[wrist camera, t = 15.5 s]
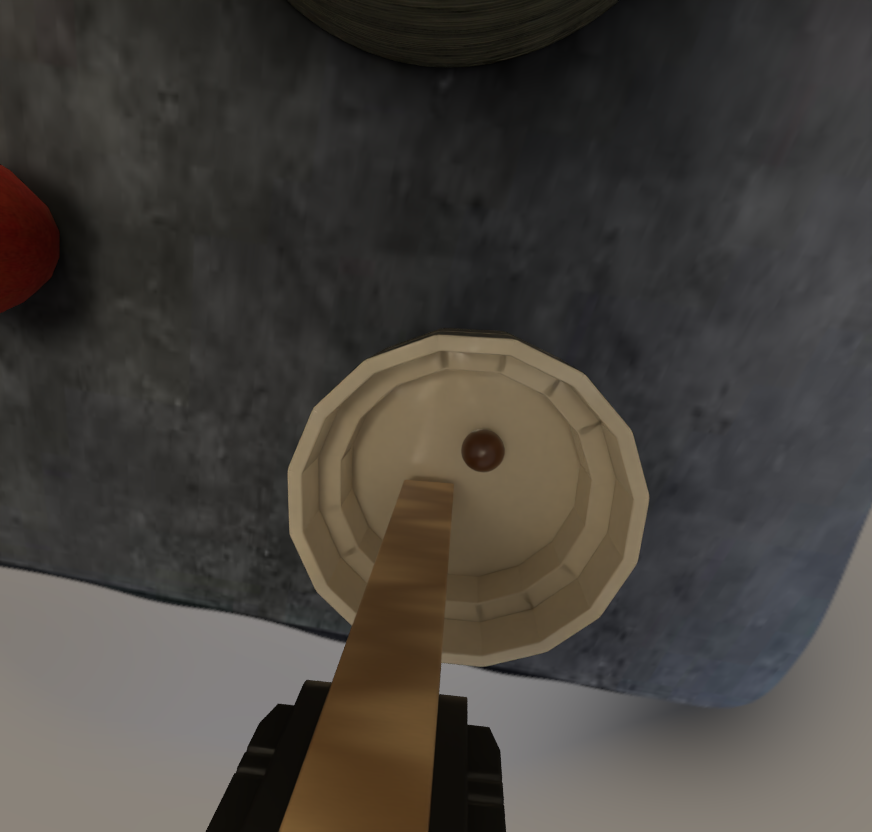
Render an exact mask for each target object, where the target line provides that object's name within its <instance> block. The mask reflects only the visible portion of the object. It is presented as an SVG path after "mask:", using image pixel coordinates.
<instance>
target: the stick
mask: <svg viewBox="0 0 872 832" xmlns="http://www.w3.org/2000/svg"><path fill="white" fill-rule="evenodd" d="M453 496H454V484H453V483H440V482H428V481H415V480H404V482H403V485H402V488H401V490H400V493H399V496H398V499H397V502H396V504H395V507H394V510H393V513H392V516H391V518H390V521H389V524H388V527H387V530H386V532H385V535H384V538H383V541H382V544H381V546H380V549H379V552H378V555H377V558H376V560H375V563H374V566H373V569H372V572H371V574H370V577H369V580H368V583H367V586H366V588H365V591H364V594H363V597H362V600H361V602H360V605H359V608H358V611H357V614H356V616H355V619H354V622H353V625H352V628H351V630H350V633H349V636H348V639H347V642H346V644H345V647H344V650H343V653H342V656H341V659H340V661H339V664H338V667H337V670H336V672H335V675H334V678H333V681H332V684H331V686H330V689H329V692H328V695H327V698H326V700H325V703H324V706H323V709H322V712H321V714H320V717H319V720H318V723H317V726H316V728H315V731H314V734H313V737H312V740H311V742H310V745H309V748H308V751H307V754H306V756H305V759H304V762H303V765H302V768H301V770H300V773H299V776H298V779H297V782H296V784H295V787H294V790H293V793H292V796H291V798H290V801H289V804H288V807H287V810H286V812H285V815H284V818H283V821H282V824H281V826H280V829H279V832H429V823H430V809H431V795H432V782H433V768H434V755H435V741H436V727H437V714H438V700H439V687H440V672H441V660H442V646H443V632H444V619H445V605H446V592H447V578H448V564H449V551H450V537H451V523H452V510H453Z"/></svg>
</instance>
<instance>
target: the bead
mask: <svg viewBox="0 0 872 832" xmlns="http://www.w3.org/2000/svg"><path fill="white" fill-rule="evenodd" d="M461 454H462V458H463V460H464V462H465V463H466V465H467V466H468V467H469V468H471V469H472V470H474V471H477V472H490V471H492V470H494V469H496V468H497V467H498V466H499V465H500V464H501V462H502V461H503V458H504V455H505V447H504V443H503V441H502V439H501V438H500V437H499V436H498V435H497V434H496V433H495V432H493V431H491V430H488V429H478V430H475V431H473V432H471V433H470V434H468V435H467V436H466V438H465V439H464V441H463V443H462V447H461Z"/></svg>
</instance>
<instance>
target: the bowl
mask: <svg viewBox="0 0 872 832" xmlns="http://www.w3.org/2000/svg"><path fill="white" fill-rule="evenodd" d="M478 429H488V430H491V431H493V432H495V433H496V434H497V435H498V436H499V437H500V438H501V439H502V441H503V443H504V447H505V455H504V458H503V461H502V462H501V464H500V465H499V466H498V467H497V468H496V469H494V470H492V471H490V472H477V471H474V470H472V469H471V468H469V467H468V466H467V465H466V463H465V462H464V460H463V458H462V454H461V447H462V443H463V441H464V439H465V438H466V436H467V435H468V434H470V433H471V432H473V431H475V430H478ZM404 480H415V481H428V482H440V483H453V484H454V496H453V510H452V523H451V537H450V551H449V564H448V578H447V592H446V605H445V619H444V632H443V646H442V660H441V663H448V664H458V665H468V666H478V667H483V666H484V667H486V666H490V665H494V664H498V663H503V662H507V661H511V660H515V659H520V658H524V657H528V656H532V655H537V654H541V653H545V652H548V651H549V650H551V649H552V648H554V647H555V646H557V645H558V644H560V643H561V642H563V641H565V640H566V639H568V638H569V637H571V636H572V635H574V634H575V633H577V632H578V631H580V630H581V629H583V628H584V627H586V626H587V625H589V624H590V623H592V622H593V621H595V620H597V619H598V618H600V616H601V615H602V614H603V612H604V611H605V609H606V608H607V606H608V605H609V604H610V602H611V601H612V599H613V598H614V596H615V595H616V593H617V592H618V591H619V589H620V588H621V586H622V585H623V583H624V582H625V580H626V579H627V578H628V576H629V575H630V573H631V572H632V570H633V569H634V567H635V566H636V564H637V562H638V557H639V552H640V547H641V541H642V536H643V531H644V525H645V520H646V514H647V509H648V504H649V497H650V496H649V493H648V489H647V485H646V481H645V477H644V474H643V470H642V466H641V462H640V459H639V455H638V451H637V447H636V443H635V440H634V436H633V432H632V431H631V429H630V427H629V426H628V425H627V424H626V423H625V421H624V420H623V419H622V418H621V417H620V415H619V414H618V413H617V412H616V411H615V409H614V408H613V407H612V406H611V405H610V403H609V402H608V401H607V400H606V399H605V397H604V396H603V395H602V394H601V393H600V391H599V390H598V389H597V388H596V387H595V385H594V384H593V383H592V382H591V381H590V379H589V378H588V377H587V376H586V375H585V374H584V373H583V372H581V371H579V370H578V369H576V368H575V367H573V366H571V365H570V364H568V363H567V362H565V361H563V360H562V359H560V358H558V357H556V356H554V355H552V354H550V353H548V352H546V351H544V350H542V349H540V348H538V347H536V346H534V345H532V344H530V343H528V342H526V341H524V340H522V339H520V338H518V337H516V336H514V335H512V334H510V333H508V332H504V331H490V330H473V329H456V328H443V329H442V328H441V329H438V330H435V331H432V332H430V333H427V334H424V335H421V336H418V337H415V338H413V339H410V340H407V341H404V342H401V343H399V344H396V345H393V346H390V347H387V348H385V349H384V350H382V351H380V352H378V353H377V354H375V355H373V356H371V357H369V358H368V359H366V360H364V361H363V362H362V363H361V364H360V365H359V366H358V367H356V368H355V369H354V370H353V371H352V372H351V373H350V374H349V375H348V376H347V377H346V378H345V379H344V380H343V381H341V382H340V383H339V384H338V385H337V386H336V387H335V388H334V389H333V390H332V391H331V392H330V393H329V394H328V395H327V396H325V397H324V398H323V399H322V400H321V401H320V402H319V403H318V404H317V405H316V406H315V407H314V408H313V410H312V412H311V414H310V417H309V419H308V421H307V424H306V426H305V429H304V431H303V433H302V436H301V438H300V441H299V443H298V445H297V448H296V450H295V453H294V455H293V458H292V460H291V462H290V465H289V467H288V503H289V532H290V536H291V538H292V540H293V542H294V545H295V547H296V549H297V551H298V553H299V555H300V558H301V560H302V562H303V564H304V566H305V568H306V570H307V573H308V575H309V577H310V579H311V581H312V583H313V586H314V588H315V590H316V591H317V592H318V593H319V594H320V595H321V596H322V597H323V598H324V599H325V600H326V601H327V602H328V603H329V604H330V605H331V606H332V607H333V608H334V609H335V610H336V611H337V612H338V613H339V614H340V615H341V616H342V617H343V618H345V619H346V620H347V621H348V622H349V623H350V624H351V625H353V622H354V619H355V616H356V614H357V611H358V608H359V605H360V602H361V600H362V597H363V594H364V591H365V588H366V586H367V583H368V580H369V577H370V574H371V572H372V569H373V566H374V563H375V560H376V558H377V555H378V552H379V549H380V546H381V544H382V541H383V538H384V535H385V532H386V530H387V527H388V524H389V521H390V518H391V516H392V513H393V510H394V507H395V504H396V502H397V499H398V496H399V493H400V490H401V488H402V485H403V482H404Z"/></svg>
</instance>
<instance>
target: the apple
mask: <svg viewBox="0 0 872 832" xmlns="http://www.w3.org/2000/svg"><path fill="white" fill-rule="evenodd" d="M58 259H59V230H58V228H57V226H56V223H55V221H54V219H53V217H52V215H51V212H50V210H49V208H48V207H47V206H46V205H45V204H44V203H43V202H42V201H41V200H40V199H39V198H38V197H37V196H36V195H35V194H34V193H33V192H32V191H31V190H30V189H29V188H28V187H27V186H26V185H25V184H24V183H23V182H22V181H21V180H20V179H19V178H18V177H16V176H15V175H14V174H13V173H12V172H11V171H10V170H8V169H7V168H5V167H4V166H2V165H0V313H2V312H4V311H6V310H8V309H10V308H12V307H14V306H17V305H19V304H21V303H23V302H25V301H26V300H27V299H28V298H29V297H30V296H32V295H33V294H34V293H35V292H36V291H37V290H39V289H40V288H41V287H42V286H43V285H44V284H45V283H46V282H47V281H48V280H49V279H50V278H51V277H52V274H53V272H54V269H55V267H56V264H57V262H58Z"/></svg>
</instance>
